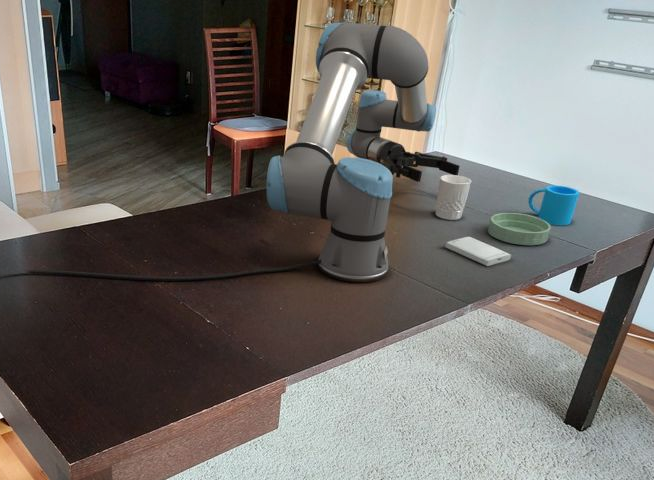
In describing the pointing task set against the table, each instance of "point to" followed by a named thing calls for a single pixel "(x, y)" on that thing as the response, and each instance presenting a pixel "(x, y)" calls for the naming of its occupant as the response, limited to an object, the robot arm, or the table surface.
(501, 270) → the table surface
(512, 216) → the bowl
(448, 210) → the white cup
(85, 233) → the table surface
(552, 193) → the mug
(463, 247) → the hard drive
